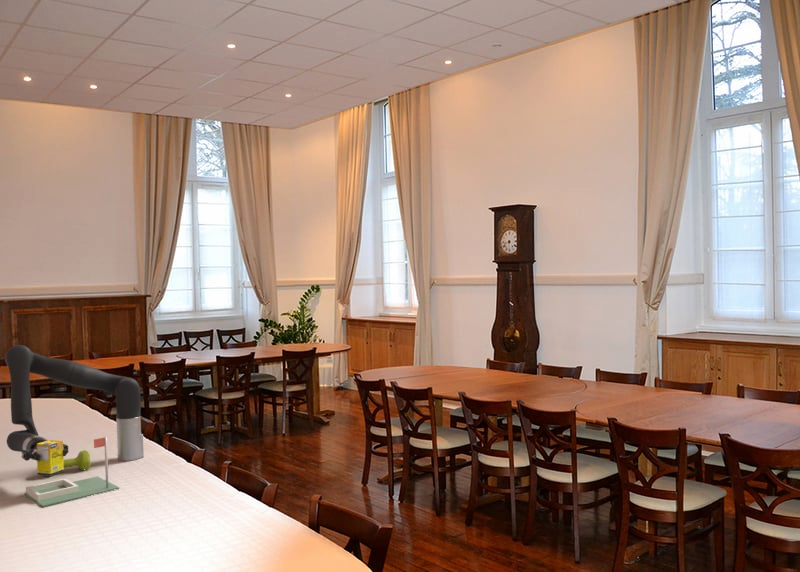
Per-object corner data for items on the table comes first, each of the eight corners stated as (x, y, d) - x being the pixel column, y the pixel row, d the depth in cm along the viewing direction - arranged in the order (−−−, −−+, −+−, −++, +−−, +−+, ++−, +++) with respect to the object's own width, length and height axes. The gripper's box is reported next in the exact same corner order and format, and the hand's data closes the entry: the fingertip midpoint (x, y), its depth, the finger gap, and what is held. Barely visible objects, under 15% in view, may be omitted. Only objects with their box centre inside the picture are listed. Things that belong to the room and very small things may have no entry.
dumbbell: (45, 479, 254) (44, 460, 254) (41, 474, 261) (41, 455, 261) (92, 470, 264) (91, 452, 264) (87, 466, 271) (87, 448, 270)
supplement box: (64, 471, 238) (63, 440, 237) (50, 476, 232) (49, 444, 232) (51, 470, 240) (50, 439, 239) (37, 474, 234) (36, 443, 234)
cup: (97, 477, 254) (95, 428, 253) (119, 489, 239) (117, 436, 239) (24, 494, 236) (22, 441, 236) (43, 507, 222) (41, 451, 221)
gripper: (15, 440, 241) (29, 448, 229) (57, 433, 251) (73, 441, 239) (15, 461, 241) (29, 470, 229) (58, 453, 251) (74, 462, 239)
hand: (52, 455), depth 234 cm, fingers closed on supplement box, 8 cm apart
